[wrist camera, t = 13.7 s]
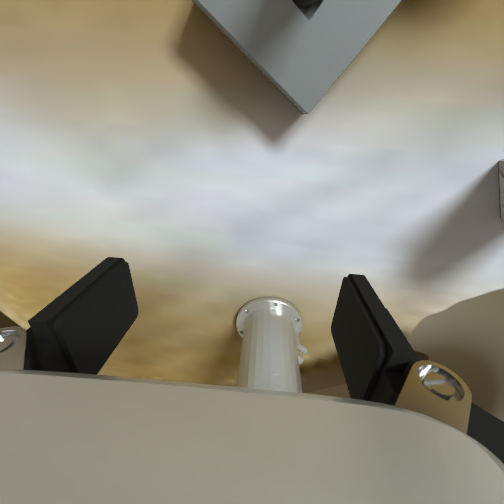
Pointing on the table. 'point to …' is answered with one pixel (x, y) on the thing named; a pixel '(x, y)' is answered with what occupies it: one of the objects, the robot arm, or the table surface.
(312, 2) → the birch peg
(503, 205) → the coffee box
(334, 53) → the socket block
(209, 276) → the table surface
